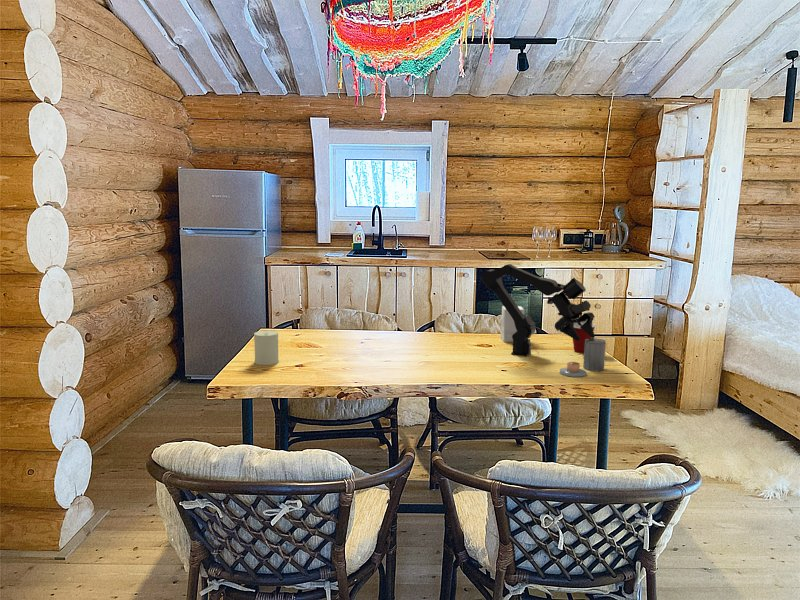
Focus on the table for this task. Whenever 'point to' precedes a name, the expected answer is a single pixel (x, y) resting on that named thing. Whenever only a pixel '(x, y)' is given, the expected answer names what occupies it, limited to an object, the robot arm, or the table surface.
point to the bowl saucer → (581, 373)
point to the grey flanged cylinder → (594, 354)
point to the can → (266, 347)
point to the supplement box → (508, 325)
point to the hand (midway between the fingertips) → (586, 339)
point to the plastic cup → (581, 338)
